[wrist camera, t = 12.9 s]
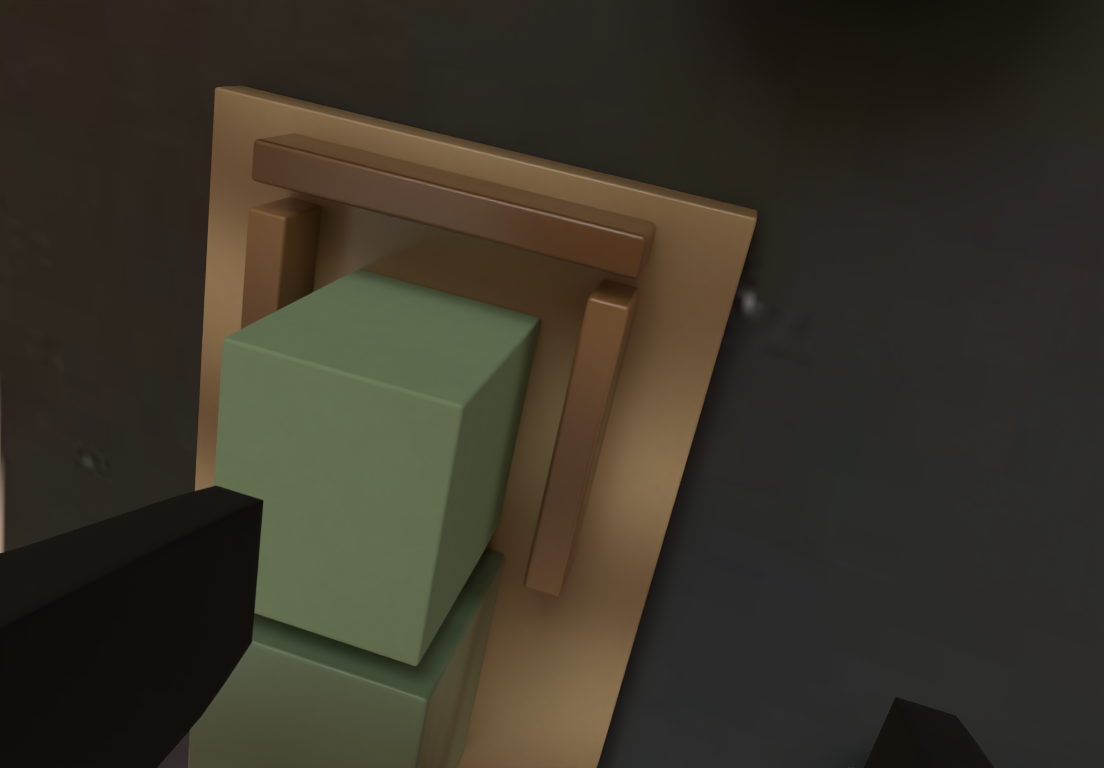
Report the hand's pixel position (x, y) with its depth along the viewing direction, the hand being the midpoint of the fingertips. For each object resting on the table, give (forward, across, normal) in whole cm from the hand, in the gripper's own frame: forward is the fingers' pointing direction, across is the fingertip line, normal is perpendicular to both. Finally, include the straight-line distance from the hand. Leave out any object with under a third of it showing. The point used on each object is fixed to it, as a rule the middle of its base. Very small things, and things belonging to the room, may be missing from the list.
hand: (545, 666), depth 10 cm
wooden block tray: (+10, +4, +4) cm, 11 cm away
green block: (+9, +4, +2) cm, 10 cm away
